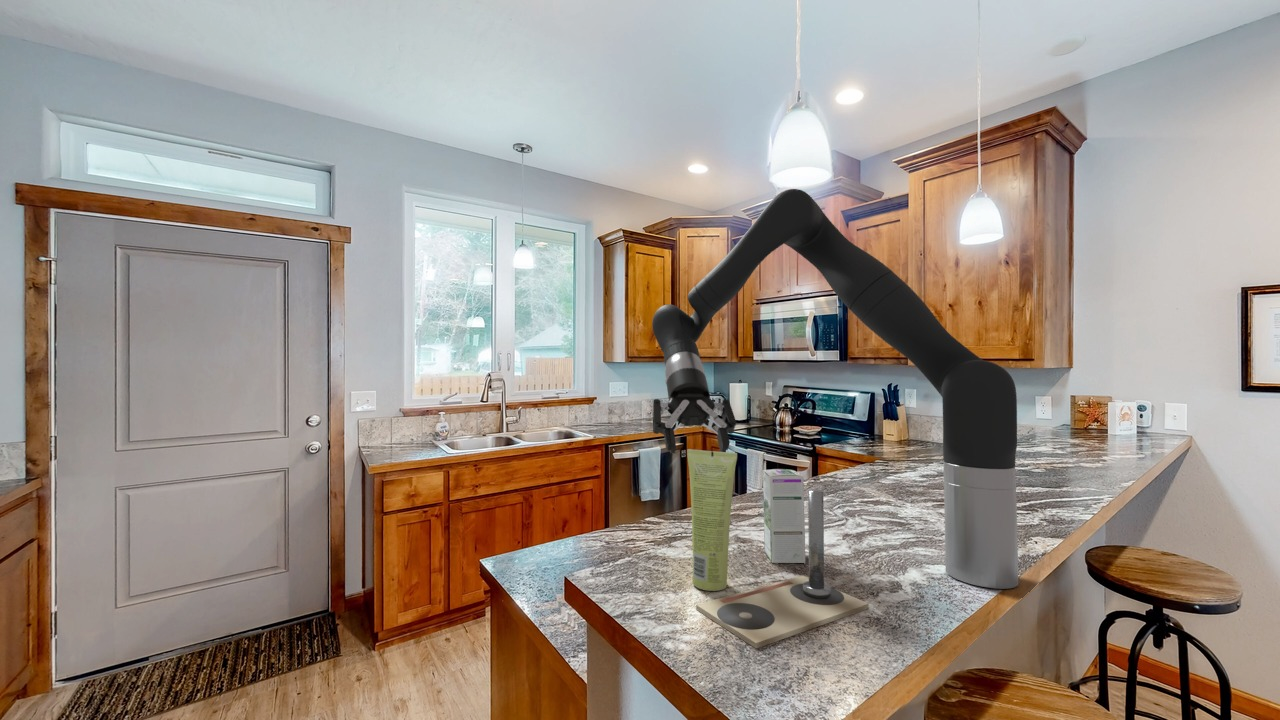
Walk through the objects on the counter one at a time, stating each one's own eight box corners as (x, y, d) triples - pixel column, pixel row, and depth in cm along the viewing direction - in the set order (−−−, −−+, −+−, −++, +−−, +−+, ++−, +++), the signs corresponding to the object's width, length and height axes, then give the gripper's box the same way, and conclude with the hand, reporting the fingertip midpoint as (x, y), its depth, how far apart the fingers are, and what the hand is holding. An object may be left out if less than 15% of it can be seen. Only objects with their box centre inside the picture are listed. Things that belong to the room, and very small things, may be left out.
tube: (720, 576, 76) (720, 447, 77) (737, 589, 71) (737, 452, 72) (686, 581, 74) (686, 449, 75) (702, 595, 69) (702, 453, 70)
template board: (802, 579, 75) (802, 575, 75) (868, 608, 65) (868, 603, 65) (696, 609, 65) (696, 604, 65) (756, 648, 55) (755, 642, 55)
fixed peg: (814, 586, 71) (814, 487, 72) (836, 595, 68) (835, 492, 68) (797, 591, 69) (796, 489, 70) (818, 601, 66) (817, 494, 67)
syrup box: (806, 564, 81) (806, 474, 82) (770, 564, 81) (769, 474, 82) (796, 552, 87) (795, 468, 88) (762, 552, 87) (762, 468, 88)
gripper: (650, 366, 91) (658, 436, 79) (726, 366, 92) (745, 435, 80) (647, 394, 96) (654, 464, 84) (719, 394, 97) (736, 463, 85)
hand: (698, 450), depth 82 cm, fingers open, 8 cm apart
